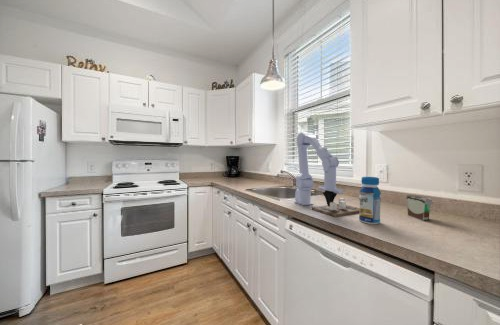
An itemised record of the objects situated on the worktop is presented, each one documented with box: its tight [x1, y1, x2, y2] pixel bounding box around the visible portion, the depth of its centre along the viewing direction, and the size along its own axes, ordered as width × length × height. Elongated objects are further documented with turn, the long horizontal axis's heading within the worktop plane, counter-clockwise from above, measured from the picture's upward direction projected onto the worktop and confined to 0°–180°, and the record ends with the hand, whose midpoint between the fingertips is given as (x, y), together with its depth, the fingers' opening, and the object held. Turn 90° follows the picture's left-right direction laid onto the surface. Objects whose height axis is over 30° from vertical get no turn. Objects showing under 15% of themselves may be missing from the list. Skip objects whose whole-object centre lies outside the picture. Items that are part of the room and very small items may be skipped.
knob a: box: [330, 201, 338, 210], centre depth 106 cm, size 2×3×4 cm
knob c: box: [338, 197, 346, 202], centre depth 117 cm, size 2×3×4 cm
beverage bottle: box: [358, 176, 382, 225], centre depth 92 cm, size 8×8×20 cm
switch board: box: [311, 203, 360, 218], centre depth 111 cm, size 16×22×2 cm
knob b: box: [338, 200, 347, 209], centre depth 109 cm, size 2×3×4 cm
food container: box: [405, 194, 434, 222], centre depth 98 cm, size 12×6×10 cm, turn 179°
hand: (329, 205), depth 108 cm, fingers closed
